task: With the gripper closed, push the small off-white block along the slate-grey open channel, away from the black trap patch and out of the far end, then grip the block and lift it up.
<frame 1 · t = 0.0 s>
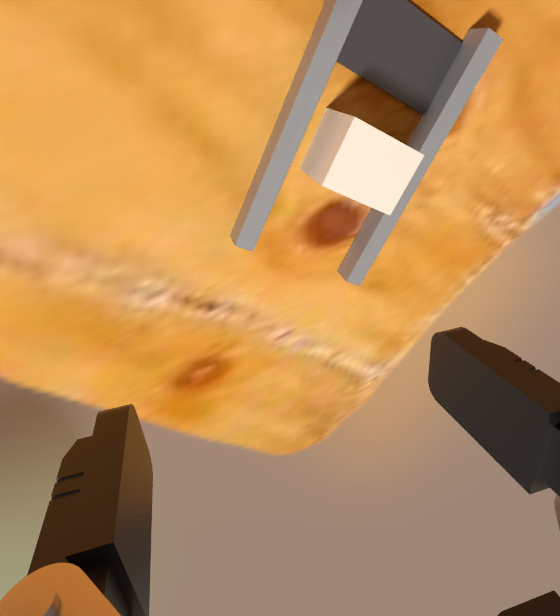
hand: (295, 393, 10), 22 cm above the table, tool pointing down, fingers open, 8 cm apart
channel: (351, 142, 30), on the table
block: (344, 154, 31), on the table
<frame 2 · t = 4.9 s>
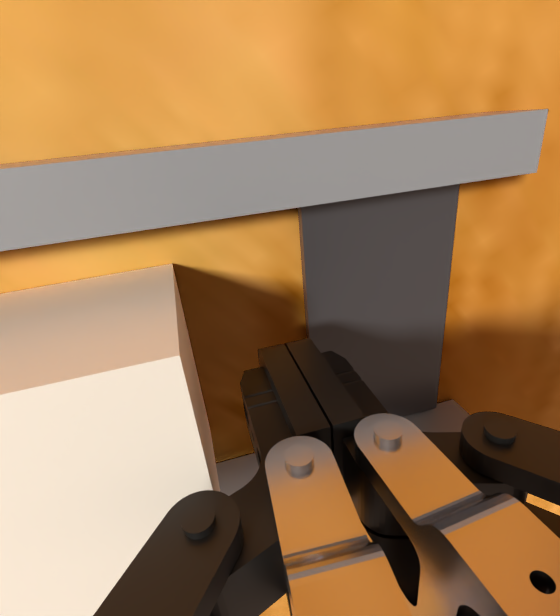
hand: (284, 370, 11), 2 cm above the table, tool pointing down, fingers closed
channel: (182, 359, 12), on the table
block: (117, 372, 12), on the table, touching gripper
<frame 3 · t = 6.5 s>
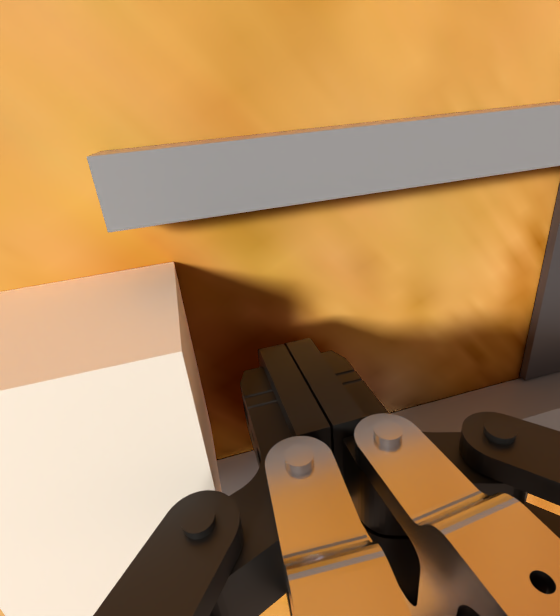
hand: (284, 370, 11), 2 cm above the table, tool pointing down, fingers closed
channel: (445, 300, 14), on the table
block: (118, 370, 12), on the table, touching gripper
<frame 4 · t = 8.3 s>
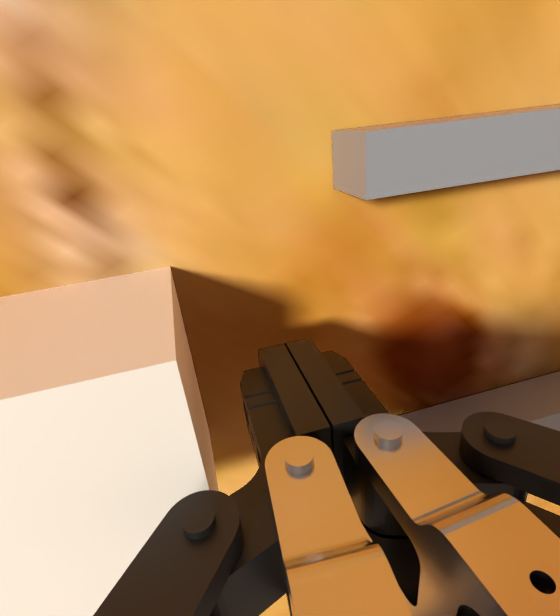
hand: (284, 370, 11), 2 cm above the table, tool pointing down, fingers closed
block: (115, 375, 12), on the table, touching gripper
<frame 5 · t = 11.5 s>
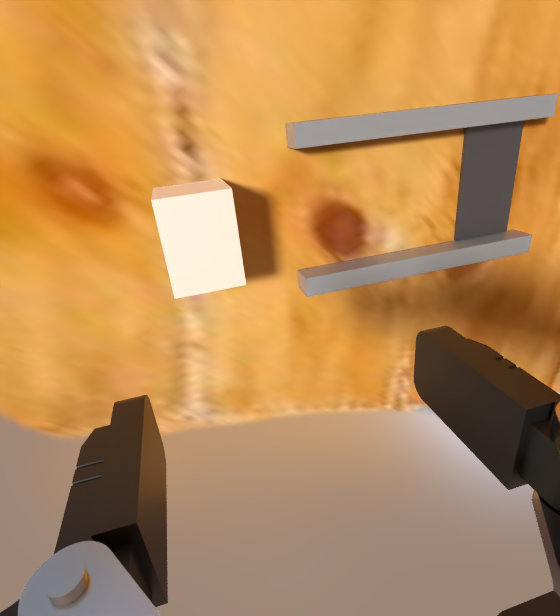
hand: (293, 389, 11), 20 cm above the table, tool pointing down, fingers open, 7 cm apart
channel: (414, 193, 31), on the table
block: (196, 226, 28), on the table
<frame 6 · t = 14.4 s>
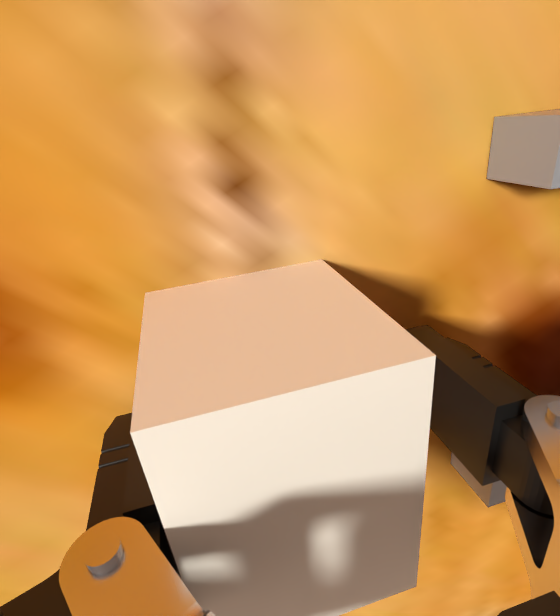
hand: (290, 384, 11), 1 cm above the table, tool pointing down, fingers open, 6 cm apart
block: (252, 372, 11), on the table, touching gripper
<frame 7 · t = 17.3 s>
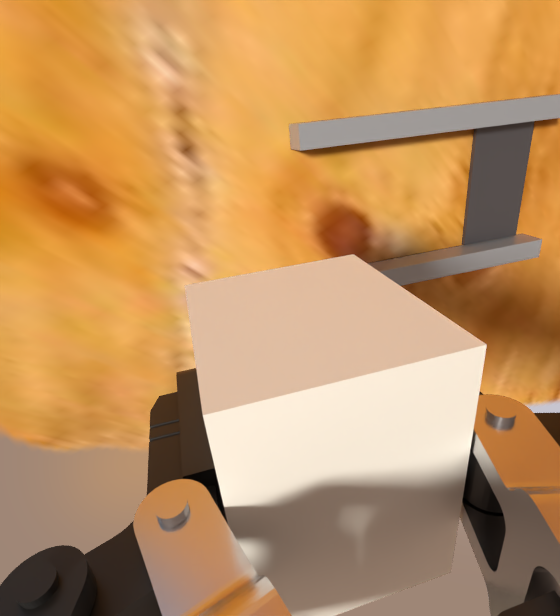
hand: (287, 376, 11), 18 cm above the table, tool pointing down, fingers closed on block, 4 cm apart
channel: (421, 196, 30), on the table
block: (283, 365, 12), point 18 cm above the table, touching gripper
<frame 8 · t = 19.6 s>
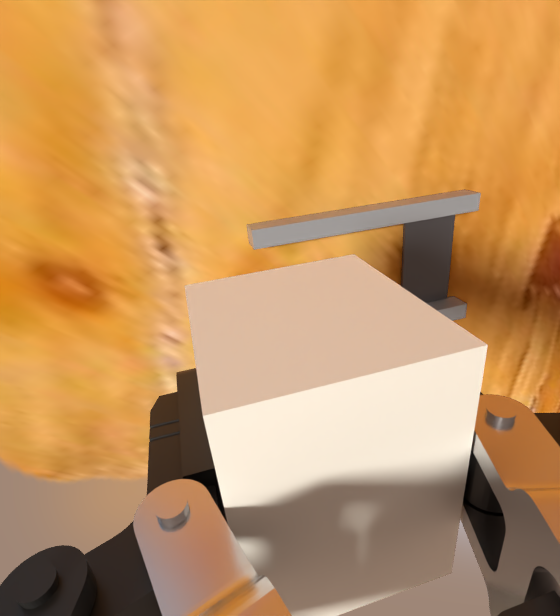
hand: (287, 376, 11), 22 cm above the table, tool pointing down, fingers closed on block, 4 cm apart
channel: (362, 272, 36), on the table
block: (283, 365, 12), point 22 cm above the table, touching gripper
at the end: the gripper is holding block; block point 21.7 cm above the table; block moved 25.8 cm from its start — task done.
